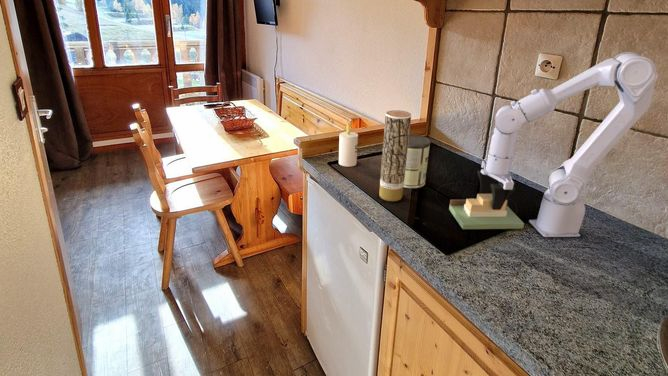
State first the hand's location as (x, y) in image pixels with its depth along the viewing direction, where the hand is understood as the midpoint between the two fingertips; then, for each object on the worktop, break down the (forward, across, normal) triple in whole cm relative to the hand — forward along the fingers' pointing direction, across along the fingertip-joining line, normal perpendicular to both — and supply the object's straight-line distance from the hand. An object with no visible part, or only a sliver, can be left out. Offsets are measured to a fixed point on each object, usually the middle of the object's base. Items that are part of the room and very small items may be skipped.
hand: (490, 202), depth 107 cm
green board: (+4, 0, -1) cm, 5 cm away
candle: (+5, -40, -34) cm, 52 cm away
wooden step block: (+3, 0, -1) cm, 3 cm away
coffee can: (+5, -24, -16) cm, 29 cm away
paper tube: (+5, -12, -24) cm, 27 cm away
